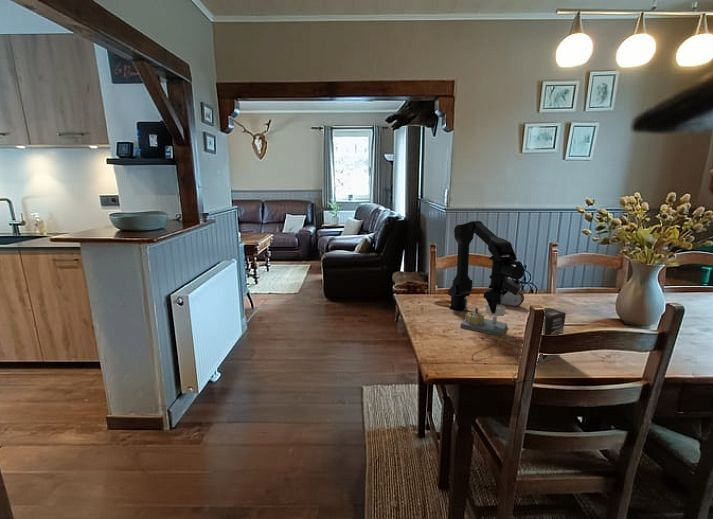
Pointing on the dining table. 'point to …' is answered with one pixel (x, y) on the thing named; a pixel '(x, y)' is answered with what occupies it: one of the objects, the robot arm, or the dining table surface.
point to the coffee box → (552, 328)
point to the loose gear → (499, 310)
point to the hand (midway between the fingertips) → (495, 310)
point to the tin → (512, 299)
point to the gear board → (483, 323)
